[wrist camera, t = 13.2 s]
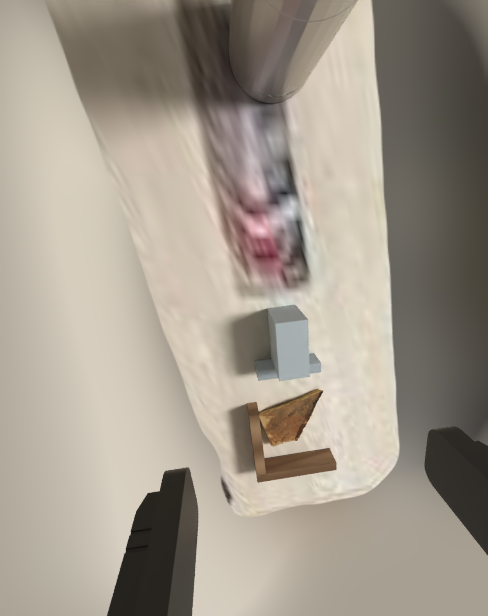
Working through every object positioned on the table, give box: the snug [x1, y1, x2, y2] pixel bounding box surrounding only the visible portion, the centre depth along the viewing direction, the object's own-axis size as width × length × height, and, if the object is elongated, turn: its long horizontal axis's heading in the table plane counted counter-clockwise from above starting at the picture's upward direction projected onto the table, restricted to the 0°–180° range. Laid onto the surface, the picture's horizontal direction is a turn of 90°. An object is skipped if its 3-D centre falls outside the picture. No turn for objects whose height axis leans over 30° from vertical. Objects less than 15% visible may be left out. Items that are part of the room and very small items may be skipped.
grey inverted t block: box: [255, 305, 321, 381], centre depth 38 cm, size 10×9×6 cm
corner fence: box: [247, 402, 336, 482], centre depth 45 cm, size 13×13×3 cm
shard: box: [259, 389, 323, 446], centre depth 45 cm, size 11×8×2 cm
